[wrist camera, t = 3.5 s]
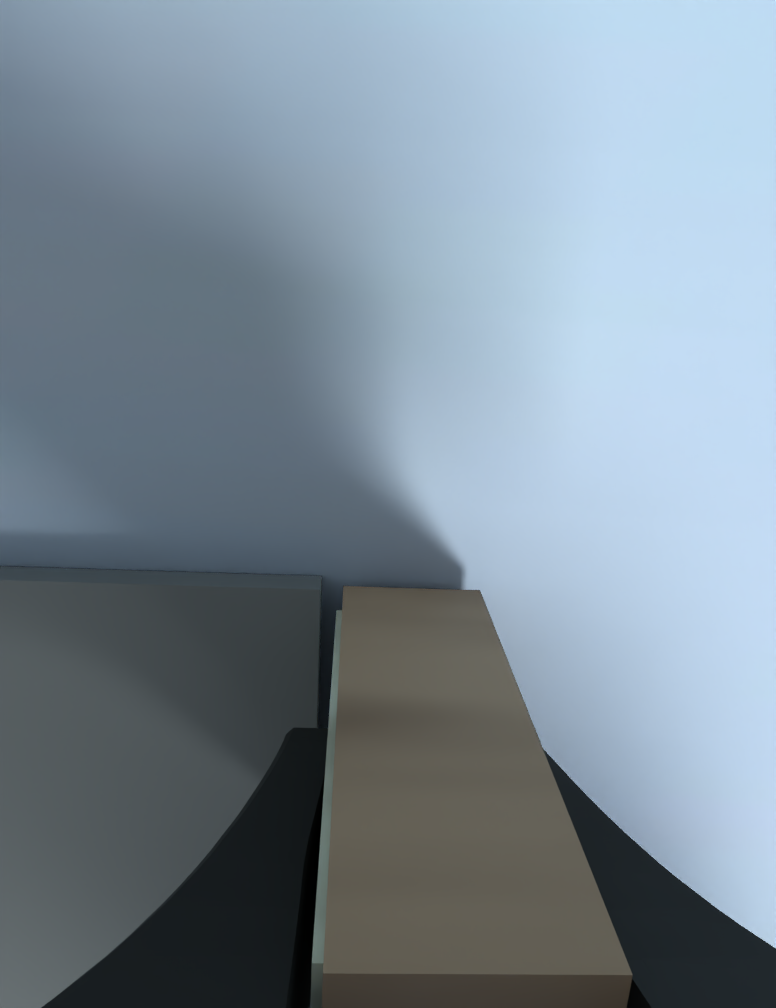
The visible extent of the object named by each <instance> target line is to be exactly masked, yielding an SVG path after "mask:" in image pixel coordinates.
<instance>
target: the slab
mask: <svg viewBox="0 0 776 1008" xmlns="http://www.w3.org/2000/svg"><path fill="white" fill-rule="evenodd" d="M632 976H633V975H632V972H631V970H630V967H629V965H628V962H627V959H626V957H625V954H624V952H623V949H622V947H621V944H620V942H619V939H618V937H617V934H616V932H615V929H614V927H613V924H612V922H611V919H610V917H609V914H608V912H607V909H606V907H605V904H604V902H603V899H602V897H601V894H600V892H599V889H598V886H597V884H596V881H595V879H594V876H593V874H592V871H591V869H590V866H589V864H588V861H587V859H586V856H585V854H584V851H583V849H582V846H581V844H580V841H579V839H578V836H577V834H576V831H575V829H574V826H573V824H572V821H571V819H570V816H569V814H568V811H567V808H566V806H565V803H564V801H563V798H562V796H561V793H560V791H559V788H558V786H557V783H556V781H555V778H554V776H553V773H552V771H551V768H550V766H549V763H548V761H547V758H546V756H545V753H544V751H543V748H542V746H541V743H540V741H539V738H538V735H537V733H536V730H535V728H534V725H533V723H532V720H531V718H530V715H529V713H528V710H527V708H526V705H525V703H524V700H523V698H522V695H521V693H520V690H519V688H518V685H517V683H516V680H515V678H514V675H513V673H512V670H511V668H510V665H509V662H508V660H507V657H506V655H505V652H504V650H503V647H502V645H501V642H500V640H499V637H498V635H497V632H496V630H495V627H494V625H493V622H492V620H491V617H490V615H489V612H488V610H487V607H486V605H485V602H484V600H483V597H482V595H481V592H480V590H453V589H422V588H391V587H360V586H343V601H342V610H336V623H335V638H334V652H333V666H332V680H331V695H330V709H329V723H328V738H327V752H326V766H325V780H324V795H323V809H322V823H321V837H320V852H319V866H318V880H317V894H316V909H315V923H314V937H313V952H312V970H311V1006H310V1008H627V1003H628V997H629V992H630V987H631V981H632Z"/></svg>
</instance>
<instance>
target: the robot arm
mask: <svg viewBox="0 0 776 1008" xmlns="http://www.w3.org/2000/svg"><path fill="white" fill-rule="evenodd" d="M327 738H328V728H293V729H291V730H290V731H289V732H288V733H287V734H286V736H285V738H284V741H283V743H282V745H281V747H280V749H279V751H278V753H277V755H276V756H275V758H274V760H273V762H272V764H271V765H270V767H269V769H268V770H267V772H266V774H265V775H264V777H263V779H262V780H261V782H260V783H259V785H258V786H257V788H256V789H255V791H254V792H253V794H252V795H251V797H250V798H249V800H248V801H247V803H246V804H245V806H244V807H243V809H242V810H241V811H240V813H239V814H238V816H237V817H236V818H235V820H234V821H233V822H232V823H231V825H230V826H229V827H228V829H227V830H226V831H225V832H224V834H223V835H222V836H221V838H220V839H219V840H218V841H217V843H216V844H215V845H214V847H213V848H212V849H211V850H210V852H209V853H208V854H207V855H206V856H205V858H204V859H203V860H202V861H201V862H200V863H199V865H198V866H197V867H196V868H195V869H194V870H193V872H192V873H191V874H190V875H189V876H188V877H187V878H186V879H185V880H184V881H183V883H182V884H181V885H180V886H179V887H178V888H177V889H176V890H175V891H174V892H173V893H172V894H171V895H170V896H169V897H168V898H167V899H166V901H165V902H164V903H163V904H162V905H161V906H159V907H158V908H157V909H156V910H155V911H154V912H153V913H152V914H151V915H150V916H149V917H148V918H147V919H146V920H145V921H144V922H143V923H142V924H141V925H140V926H139V927H138V928H137V929H136V930H135V931H133V932H132V933H131V934H130V935H129V936H128V937H127V938H126V939H125V940H124V941H123V942H121V943H120V944H119V945H118V946H117V947H116V948H115V949H114V950H112V951H111V952H110V953H109V954H108V955H107V956H106V957H104V958H103V959H102V960H101V961H99V962H98V963H97V964H96V965H94V966H93V967H92V968H91V969H89V970H88V971H87V972H86V973H84V974H83V975H82V976H81V977H79V978H78V979H77V980H76V981H74V982H73V983H72V984H71V985H69V986H68V987H67V988H66V989H64V990H63V991H62V992H61V993H60V994H58V995H57V996H56V997H55V998H53V999H52V1000H51V1001H49V1002H48V1003H47V1004H45V1005H44V1006H43V1007H41V1008H310V1003H311V970H312V952H313V937H314V923H315V909H316V894H317V880H318V866H319V852H320V837H321V823H322V809H323V795H324V780H325V766H326V752H327ZM543 751H544V753H545V756H546V758H547V761H548V763H549V766H550V768H551V771H552V773H553V776H554V778H555V781H556V783H557V786H558V788H559V791H560V793H561V796H562V798H563V801H564V803H565V806H566V808H567V811H568V814H569V816H570V819H571V821H572V824H573V826H574V829H575V831H576V834H577V836H578V839H579V841H580V844H581V846H582V849H583V851H584V854H585V856H586V859H587V861H588V864H589V866H590V869H591V871H592V874H593V876H594V879H595V881H596V884H597V886H598V889H599V892H600V894H601V897H602V899H603V902H604V904H605V907H606V909H607V912H608V914H609V917H610V919H611V922H612V924H613V927H614V929H615V932H616V934H617V937H618V939H619V942H620V944H621V947H622V949H623V952H624V954H625V957H626V959H627V962H628V965H629V967H630V970H631V972H632V975H633V976H632V981H631V987H630V992H629V997H628V1003H627V1008H776V949H775V948H774V947H772V946H771V945H769V944H768V943H766V942H765V941H763V940H762V939H760V938H759V937H757V936H756V935H754V934H753V933H751V932H750V931H748V930H747V929H745V928H744V927H742V926H741V925H739V924H738V923H736V922H735V921H734V920H732V919H731V918H729V917H728V916H727V915H725V914H724V913H722V912H721V911H719V910H718V909H717V908H715V907H714V906H713V905H711V904H710V903H709V902H708V901H706V900H705V899H704V898H702V897H701V896H700V895H698V894H697V893H696V892H695V891H693V890H692V889H691V888H689V887H688V886H687V885H685V884H684V883H683V882H682V881H680V880H679V879H678V878H676V877H675V876H674V875H673V874H671V873H670V872H669V871H668V870H667V869H665V868H664V867H663V866H662V865H661V864H659V863H658V862H657V861H656V860H655V859H654V858H652V857H651V856H650V855H649V854H648V853H647V852H646V851H645V850H643V849H642V848H641V847H640V846H639V845H638V844H637V843H636V842H635V841H633V840H632V839H631V838H630V837H629V836H628V835H627V834H626V833H624V832H623V831H622V830H621V829H620V828H619V827H618V826H617V825H616V824H615V823H614V822H613V821H612V820H611V819H610V818H609V817H608V816H607V815H606V814H605V813H604V812H603V811H602V810H601V809H600V808H599V807H598V806H597V805H596V804H595V803H594V802H593V801H592V800H591V799H590V798H589V797H588V796H587V795H586V794H585V793H584V792H583V791H582V790H581V789H580V788H579V787H578V786H577V785H576V784H575V783H574V782H573V781H572V780H571V779H570V778H569V776H568V775H567V774H566V773H565V772H564V771H563V770H562V769H561V768H560V767H559V766H558V765H557V764H556V762H555V761H554V760H553V759H552V758H551V757H550V756H549V755H548V754H547V753H546V752H545V750H544V749H543Z"/></svg>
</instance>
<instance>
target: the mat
mask: <svg viewBox="0 0 776 1008" xmlns="http://www.w3.org/2000/svg"><path fill="white" fill-rule="evenodd" d="M321 591H322V576H305V575H272V574H239V573H207V572H174V571H141V570H108V569H76V568H43V567H10V566H0V1008H41V1007H43V1006H44V1005H45V1004H47V1003H48V1002H49V1001H51V1000H52V999H53V998H55V997H56V996H57V995H58V994H60V993H61V992H62V991H63V990H64V989H66V988H67V987H68V986H69V985H71V984H72V983H73V982H74V981H76V980H77V979H78V978H79V977H81V976H82V975H83V974H84V973H86V972H87V971H88V970H89V969H91V968H92V967H93V966H94V965H96V964H97V963H98V962H99V961H101V960H102V959H103V958H104V957H106V956H107V955H108V954H109V953H110V952H111V951H112V950H114V949H115V948H116V947H117V946H118V945H119V944H120V943H121V942H123V941H124V940H125V939H126V938H127V937H128V936H129V935H130V934H131V933H132V932H133V931H135V930H136V929H137V928H138V927H139V926H140V925H141V924H142V923H143V922H144V921H145V920H146V919H147V918H148V917H149V916H150V915H151V914H152V913H153V912H154V911H155V910H156V909H157V908H158V907H159V906H161V905H162V904H163V903H164V902H165V901H166V899H167V898H168V897H169V896H170V895H171V894H172V893H173V892H174V891H175V890H176V889H177V888H178V887H179V886H180V885H181V884H182V883H183V881H184V880H185V879H186V878H187V877H188V876H189V875H190V874H191V873H192V872H193V870H194V869H195V868H196V867H197V866H198V865H199V863H200V862H201V861H202V860H203V859H204V858H205V856H206V855H207V854H208V853H209V852H210V850H211V849H212V848H213V847H214V845H215V844H216V843H217V841H218V840H219V839H220V838H221V836H222V835H223V834H224V832H225V831H226V830H227V829H228V827H229V826H230V825H231V823H232V822H233V821H234V820H235V818H236V817H237V816H238V814H239V813H240V811H241V810H242V809H243V807H244V806H245V804H246V803H247V801H248V800H249V798H250V797H251V795H252V794H253V792H254V791H255V789H256V788H257V786H258V785H259V783H260V782H261V780H262V779H263V777H264V775H265V774H266V772H267V770H268V769H269V767H270V765H271V764H272V762H273V760H274V758H275V756H276V755H277V753H278V751H279V749H280V747H281V745H282V743H283V741H284V738H285V736H286V734H287V733H288V732H289V731H290V730H291V729H293V728H318V708H319V669H320V630H321ZM310 1006H311V1003H310Z"/></svg>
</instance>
